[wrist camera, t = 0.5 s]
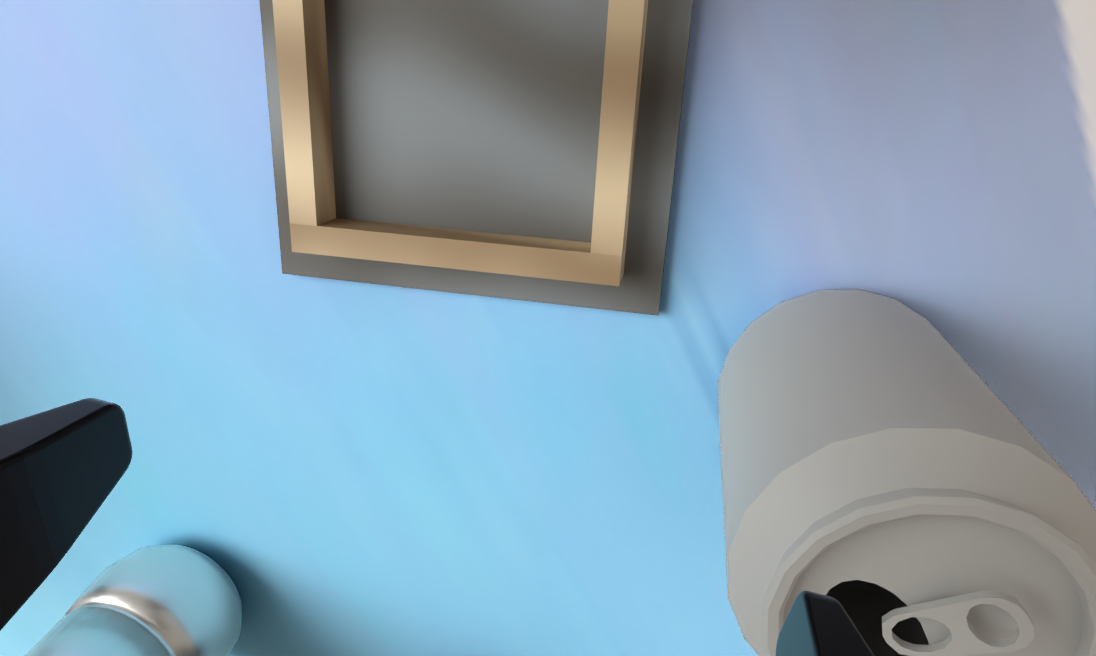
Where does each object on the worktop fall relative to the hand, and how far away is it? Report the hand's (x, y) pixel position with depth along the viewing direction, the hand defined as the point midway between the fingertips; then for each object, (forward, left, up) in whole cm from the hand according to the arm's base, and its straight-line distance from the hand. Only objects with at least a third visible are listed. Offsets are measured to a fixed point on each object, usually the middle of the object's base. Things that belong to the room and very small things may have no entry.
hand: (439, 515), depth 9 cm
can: (-4, -8, -17) cm, 19 cm away
